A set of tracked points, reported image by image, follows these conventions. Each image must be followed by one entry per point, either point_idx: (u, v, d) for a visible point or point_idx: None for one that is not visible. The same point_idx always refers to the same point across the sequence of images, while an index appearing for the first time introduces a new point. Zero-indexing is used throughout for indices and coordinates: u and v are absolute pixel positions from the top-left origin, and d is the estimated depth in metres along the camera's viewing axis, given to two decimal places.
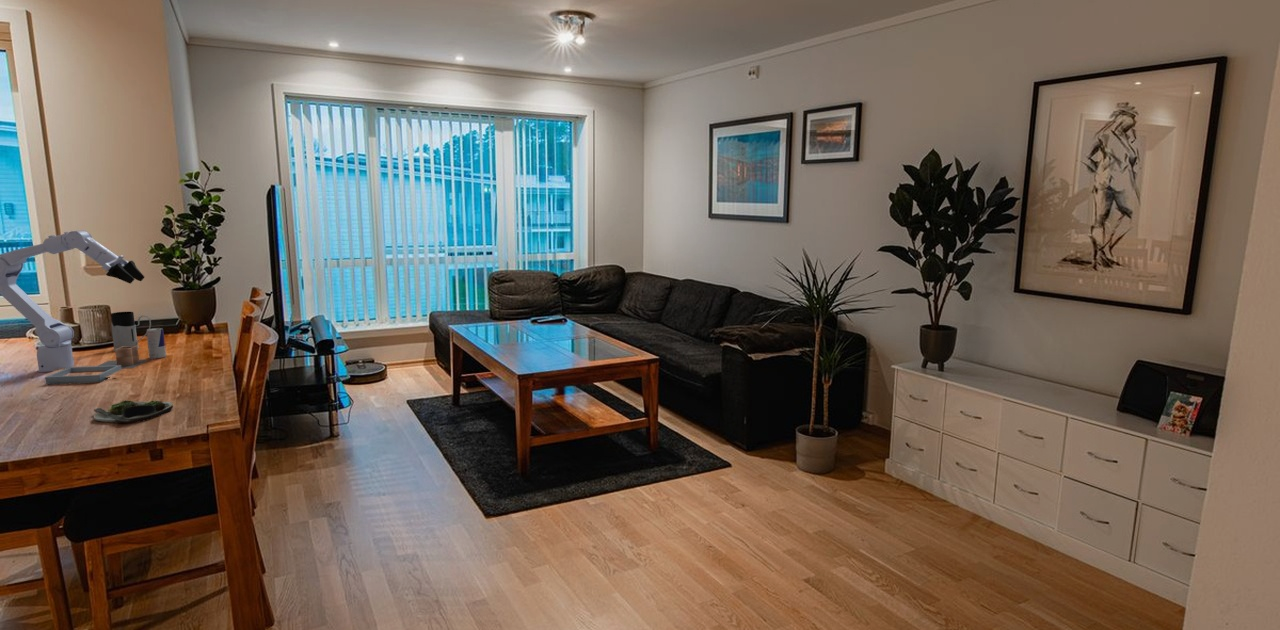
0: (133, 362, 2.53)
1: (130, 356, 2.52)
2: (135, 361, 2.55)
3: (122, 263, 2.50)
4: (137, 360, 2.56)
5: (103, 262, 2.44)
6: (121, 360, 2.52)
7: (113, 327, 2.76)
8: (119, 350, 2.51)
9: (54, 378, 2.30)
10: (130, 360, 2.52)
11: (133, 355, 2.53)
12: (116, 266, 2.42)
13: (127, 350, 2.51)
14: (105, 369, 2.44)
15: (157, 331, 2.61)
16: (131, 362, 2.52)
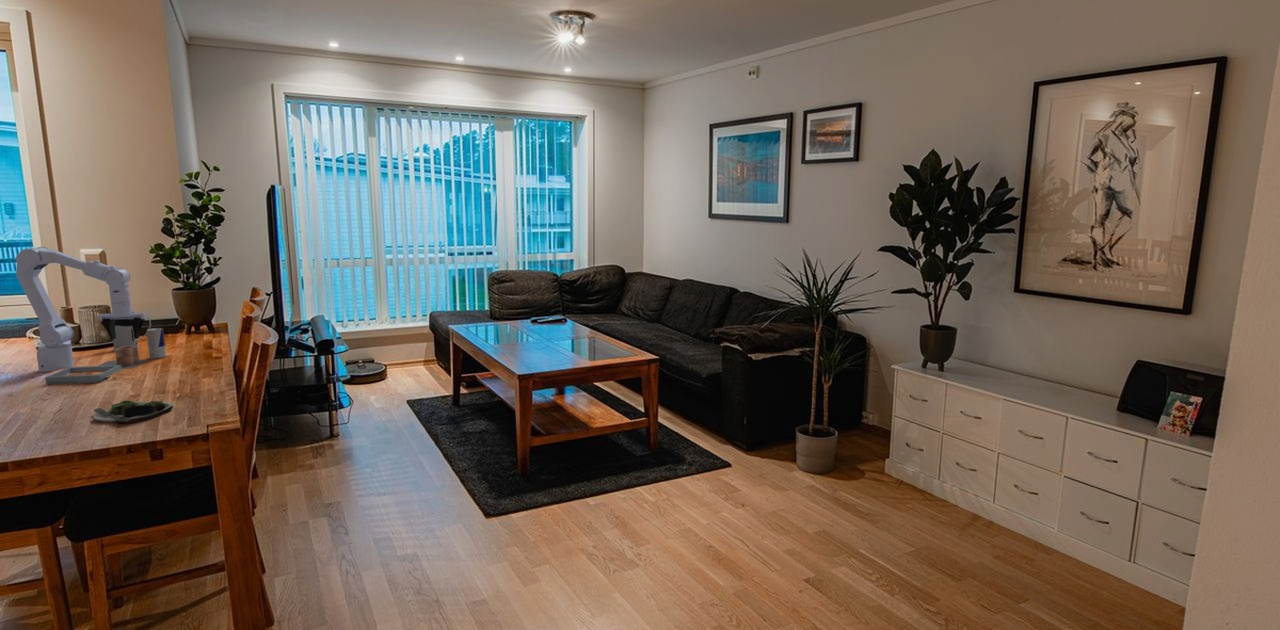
0: (133, 362, 2.53)
1: (130, 356, 2.52)
2: (135, 361, 2.55)
3: None
4: (137, 360, 2.56)
5: (128, 308, 2.51)
6: (121, 360, 2.52)
7: None
8: (119, 350, 2.51)
9: (54, 378, 2.30)
10: (130, 360, 2.52)
11: (133, 355, 2.53)
12: (144, 320, 2.55)
13: (127, 350, 2.51)
14: (105, 369, 2.44)
15: (157, 331, 2.61)
16: (131, 362, 2.52)
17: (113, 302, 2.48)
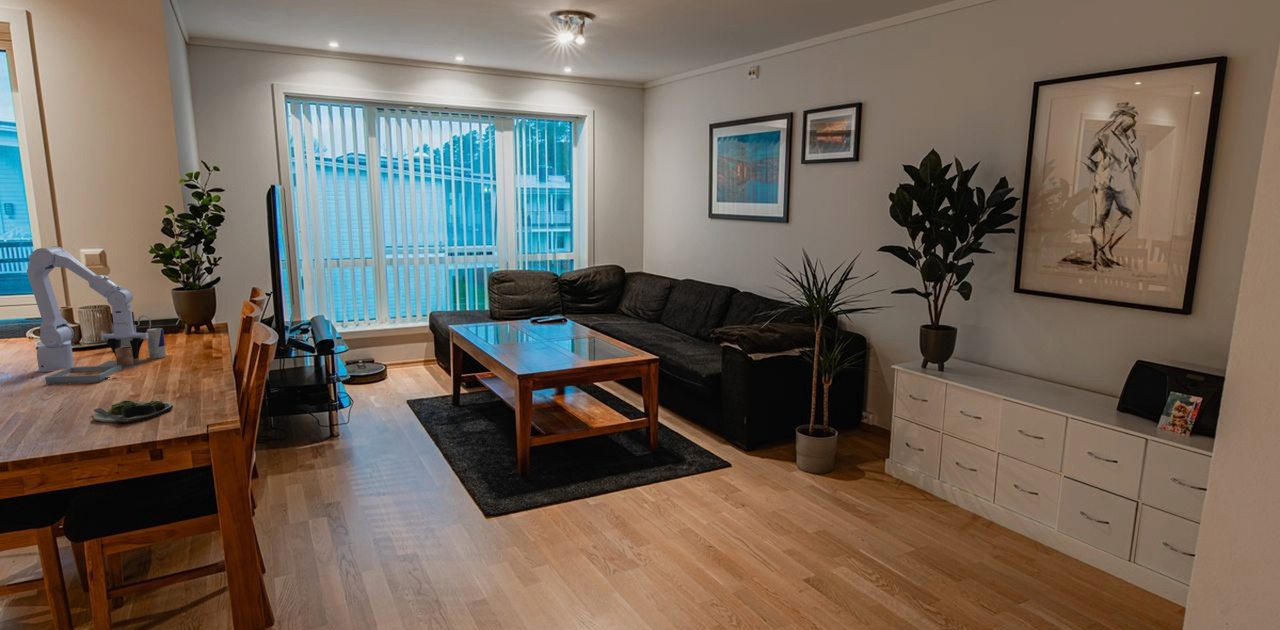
0: (133, 362, 2.53)
1: (130, 356, 2.52)
2: (135, 361, 2.55)
3: None
4: (137, 360, 2.56)
5: (131, 329, 2.52)
6: (121, 360, 2.52)
7: (113, 327, 2.76)
8: (119, 350, 2.51)
9: (54, 378, 2.30)
10: (130, 360, 2.52)
11: None
12: (143, 340, 2.56)
13: (127, 350, 2.51)
14: (105, 369, 2.44)
15: (157, 331, 2.61)
16: (131, 362, 2.52)
17: (116, 322, 2.49)
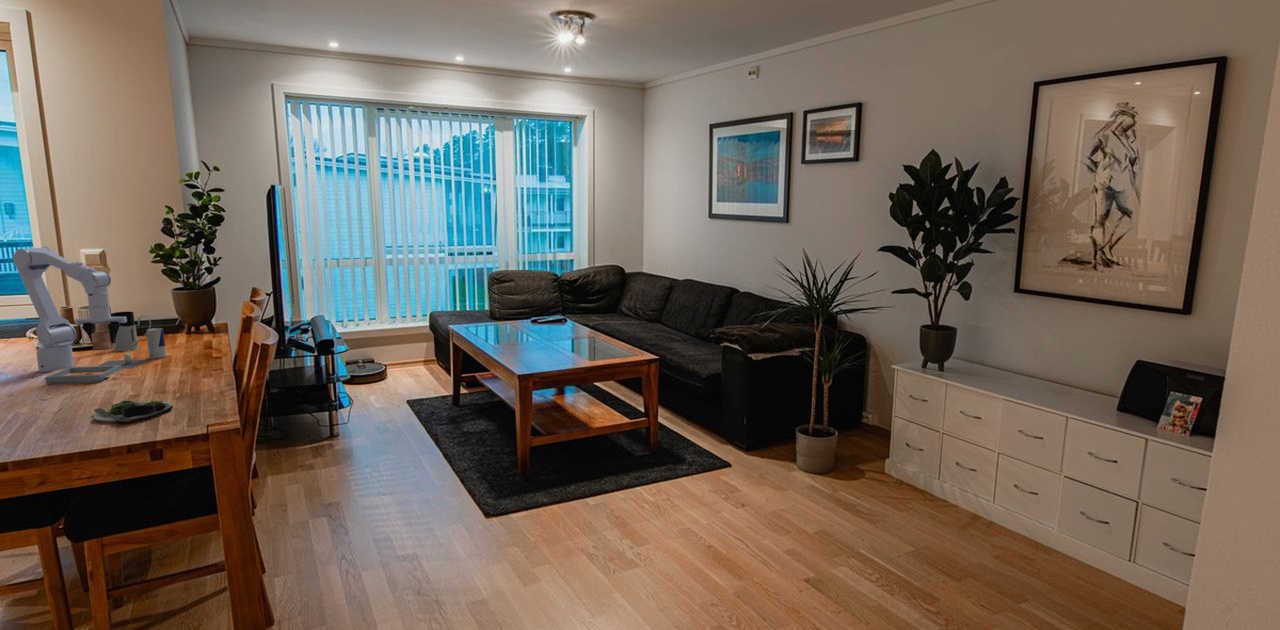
0: (111, 347, 2.44)
1: (108, 341, 2.43)
2: (112, 346, 2.45)
3: None
4: (114, 345, 2.47)
5: (108, 312, 2.43)
6: (98, 345, 2.42)
7: None
8: (96, 335, 2.41)
9: (54, 378, 2.30)
10: (108, 345, 2.43)
11: None
12: (120, 324, 2.47)
13: (105, 335, 2.42)
14: (105, 369, 2.44)
15: (157, 331, 2.61)
16: (109, 347, 2.43)
17: (89, 305, 2.40)
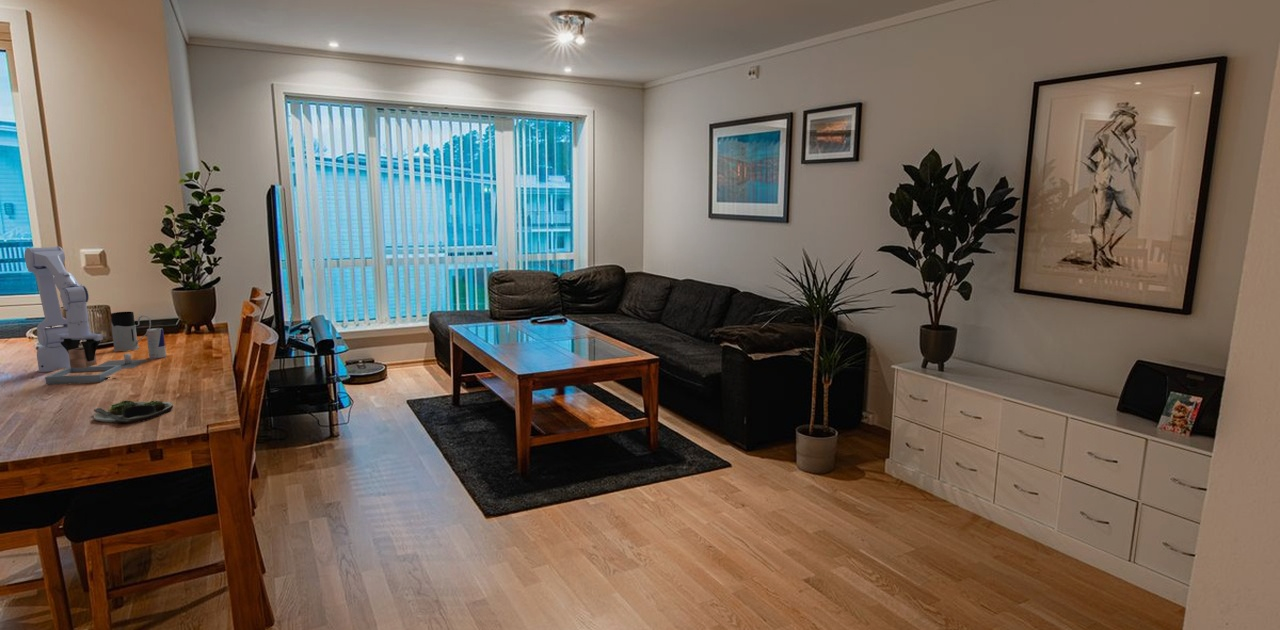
0: (86, 365, 2.35)
1: (82, 358, 2.34)
2: (90, 364, 2.37)
3: None
4: (93, 363, 2.38)
5: (84, 329, 2.34)
6: (74, 362, 2.35)
7: (113, 327, 2.76)
8: (72, 352, 2.34)
9: (54, 378, 2.30)
10: (82, 363, 2.34)
11: None
12: (99, 341, 2.37)
13: (79, 352, 2.34)
14: (105, 369, 2.44)
15: (157, 331, 2.61)
16: (83, 365, 2.35)
17: (67, 321, 2.33)
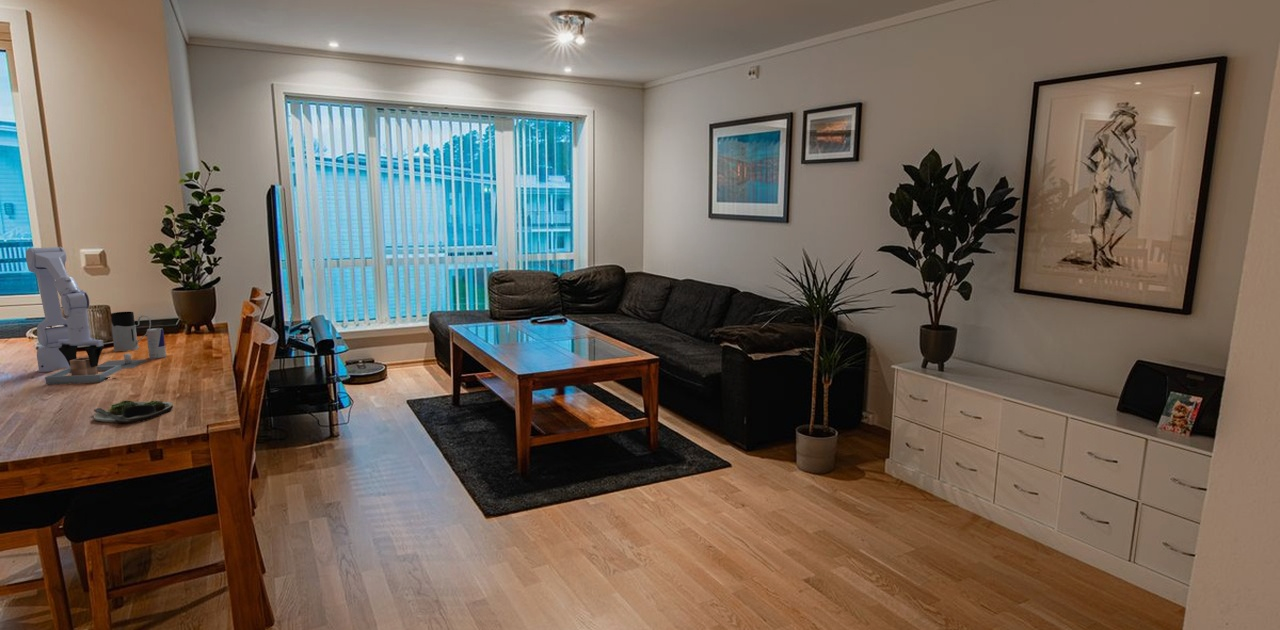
0: None
1: (83, 368, 2.35)
2: (91, 374, 2.38)
3: None
4: (95, 373, 2.39)
5: (85, 335, 2.35)
6: (75, 372, 2.35)
7: (113, 327, 2.76)
8: (73, 362, 2.35)
9: (54, 378, 2.30)
10: (84, 373, 2.35)
11: (88, 367, 2.36)
12: (102, 347, 2.38)
13: (80, 362, 2.34)
14: (105, 369, 2.44)
15: (157, 331, 2.61)
16: None
17: (67, 327, 2.33)
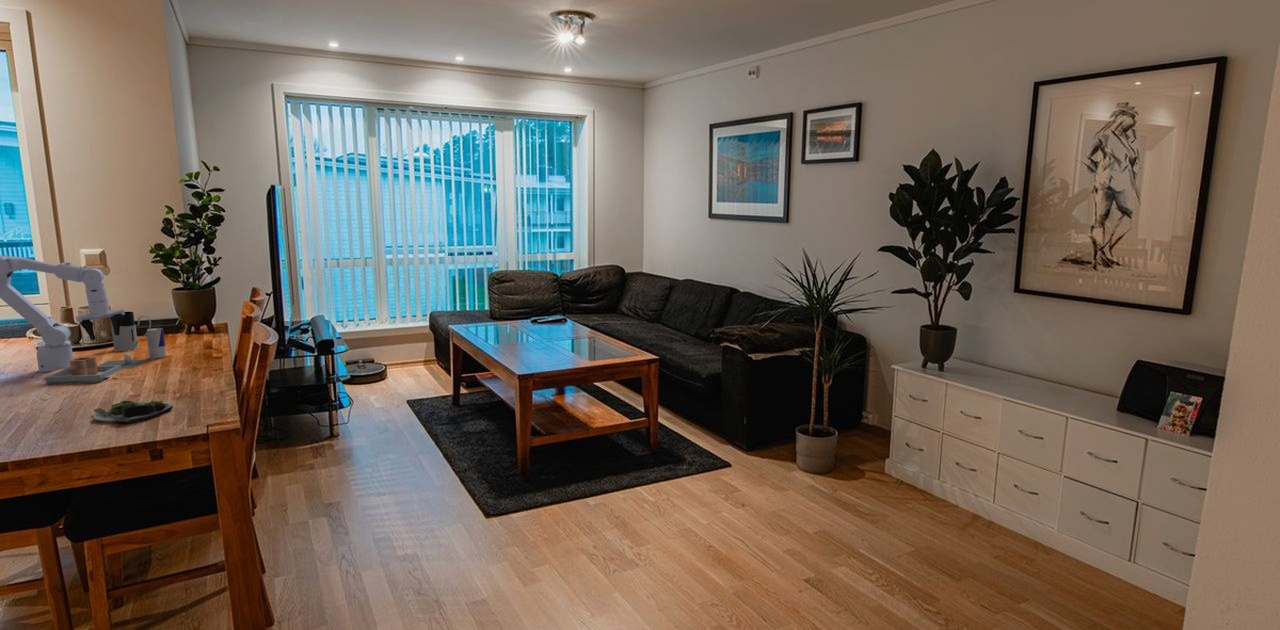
0: None
1: (83, 368, 2.35)
2: (91, 374, 2.38)
3: None
4: (95, 373, 2.39)
5: (108, 306, 2.54)
6: (75, 372, 2.35)
7: None
8: (73, 362, 2.35)
9: (54, 378, 2.30)
10: (84, 373, 2.35)
11: (88, 367, 2.36)
12: None
13: (80, 362, 2.34)
14: (105, 369, 2.44)
15: (157, 331, 2.61)
16: None
17: (92, 301, 2.49)
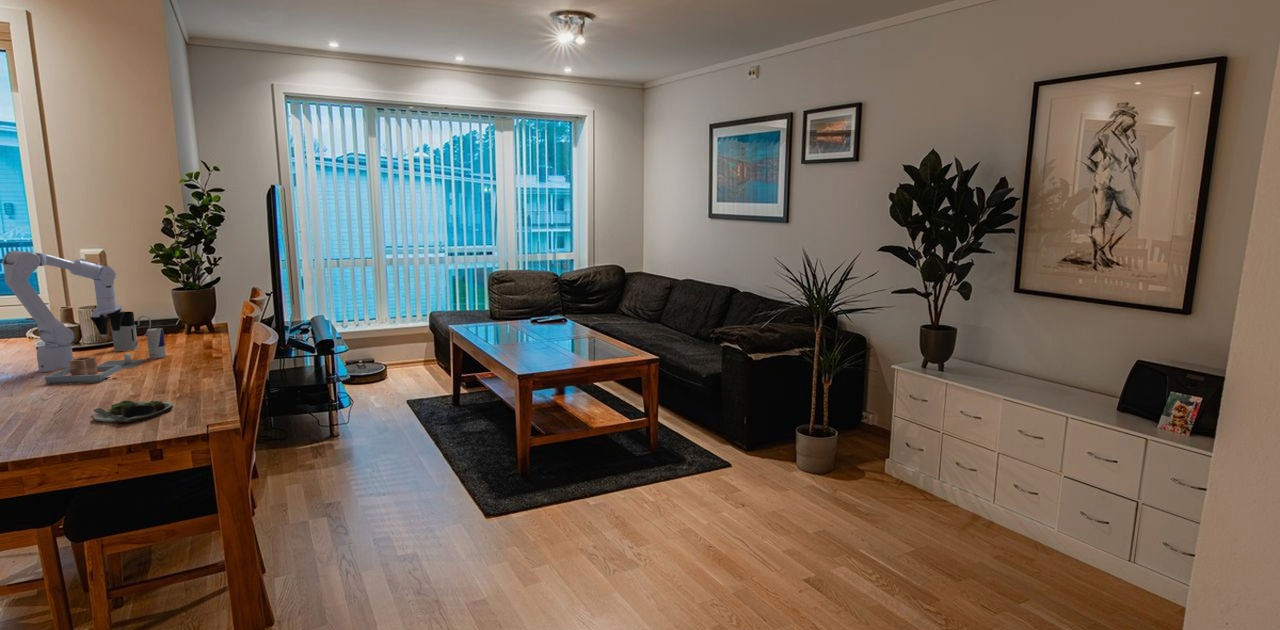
0: None
1: (83, 368, 2.35)
2: (91, 374, 2.38)
3: None
4: (95, 373, 2.39)
5: None
6: (75, 372, 2.35)
7: None
8: (73, 362, 2.35)
9: (54, 378, 2.30)
10: (84, 373, 2.35)
11: (88, 367, 2.36)
12: None
13: (80, 362, 2.34)
14: (105, 369, 2.44)
15: (157, 331, 2.61)
16: None
17: (106, 297, 2.59)
